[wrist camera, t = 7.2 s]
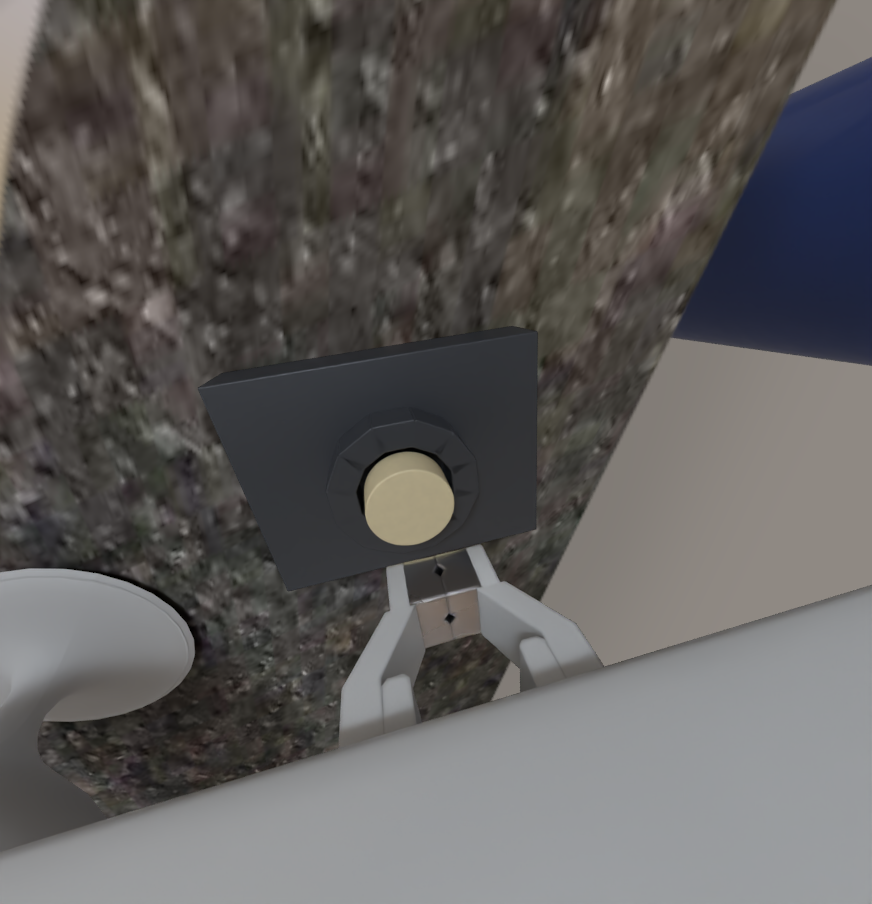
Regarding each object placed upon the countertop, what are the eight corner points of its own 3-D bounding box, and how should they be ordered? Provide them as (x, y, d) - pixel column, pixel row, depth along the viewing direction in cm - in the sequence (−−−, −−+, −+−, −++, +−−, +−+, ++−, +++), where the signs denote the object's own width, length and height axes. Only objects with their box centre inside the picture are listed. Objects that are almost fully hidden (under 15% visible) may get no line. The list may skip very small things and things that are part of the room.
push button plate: (512, 325, 17) (560, 335, 13) (517, 504, 22) (552, 550, 18) (220, 372, 15) (173, 400, 11) (295, 557, 20) (280, 621, 16)
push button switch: (439, 443, 15) (449, 460, 13) (448, 511, 16) (458, 534, 15) (355, 460, 14) (355, 481, 13) (373, 529, 16) (375, 555, 14)
